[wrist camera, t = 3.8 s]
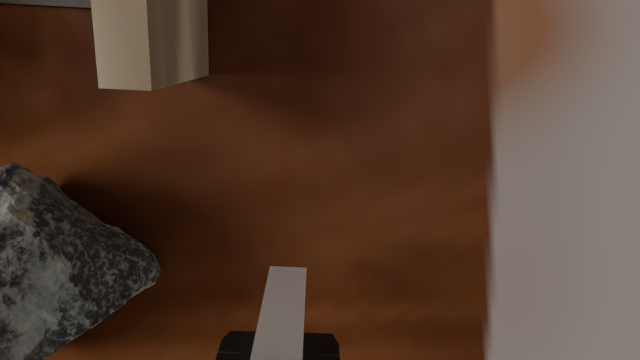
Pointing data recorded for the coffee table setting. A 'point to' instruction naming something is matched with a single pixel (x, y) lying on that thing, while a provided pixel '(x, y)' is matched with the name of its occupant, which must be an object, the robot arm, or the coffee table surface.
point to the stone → (59, 267)
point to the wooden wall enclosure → (145, 40)
